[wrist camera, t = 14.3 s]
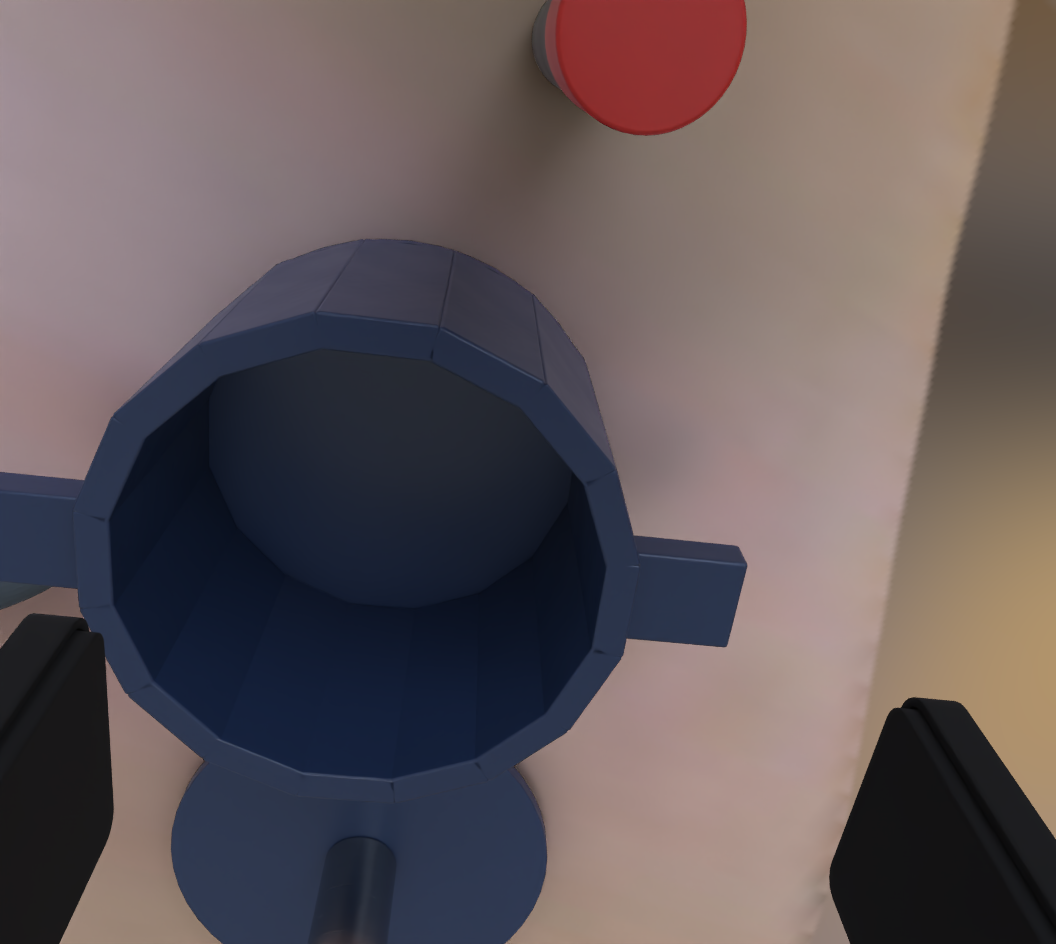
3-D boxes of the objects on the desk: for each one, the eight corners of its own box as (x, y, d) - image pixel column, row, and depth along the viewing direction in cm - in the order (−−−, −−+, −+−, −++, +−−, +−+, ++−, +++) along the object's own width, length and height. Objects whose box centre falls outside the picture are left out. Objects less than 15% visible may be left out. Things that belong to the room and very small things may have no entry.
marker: (535, -28, 24) (570, -92, 13) (643, -12, 24) (768, -62, 13) (521, 89, 25) (542, 123, 14) (625, 104, 26) (725, 147, 14)
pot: (83, 199, 26) (-91, 263, 18) (722, 278, 28) (811, 368, 20) (105, 592, 31) (-23, 773, 23) (645, 642, 33) (692, 827, 25)
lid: (176, 673, 33) (109, 805, 27) (569, 706, 34) (584, 840, 28) (183, 954, 38) (129, 1112, 32) (521, 974, 39) (526, 1131, 33)
